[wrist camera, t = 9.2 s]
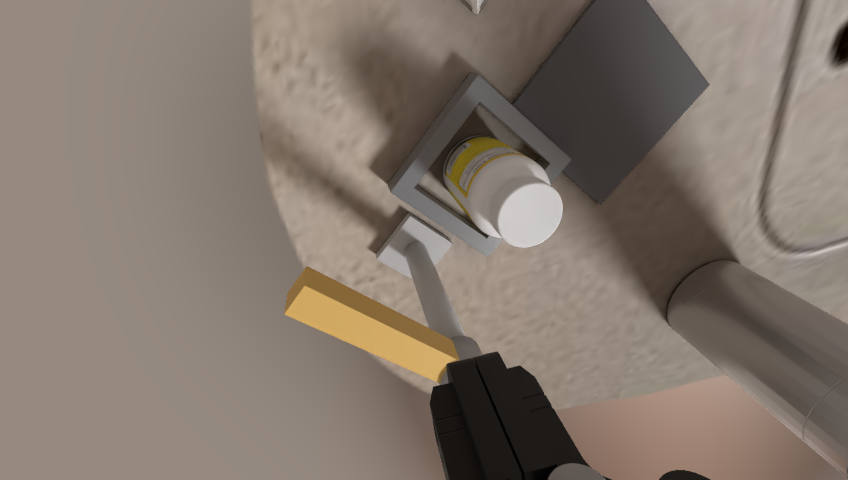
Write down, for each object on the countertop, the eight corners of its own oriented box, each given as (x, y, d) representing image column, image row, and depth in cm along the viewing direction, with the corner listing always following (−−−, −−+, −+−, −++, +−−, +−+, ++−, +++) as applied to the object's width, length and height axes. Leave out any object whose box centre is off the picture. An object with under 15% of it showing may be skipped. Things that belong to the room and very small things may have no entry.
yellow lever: (488, 347, 23) (502, 373, 21) (459, 379, 23) (469, 408, 21) (313, 255, 18) (311, 279, 16) (282, 298, 19) (277, 326, 17)
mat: (705, 84, 33) (709, 84, 32) (597, 202, 35) (600, 204, 35) (617, -32, 28) (621, -33, 27) (500, 117, 30) (502, 118, 30)
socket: (559, 153, 33) (677, 213, 22) (442, 292, 36) (491, 405, 25) (470, 72, 29) (558, 95, 18) (347, 238, 32) (356, 344, 21)
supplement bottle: (509, 195, 33) (571, 250, 25) (444, 206, 33) (485, 267, 24) (508, 127, 31) (577, 163, 22) (438, 138, 30) (481, 180, 22)
